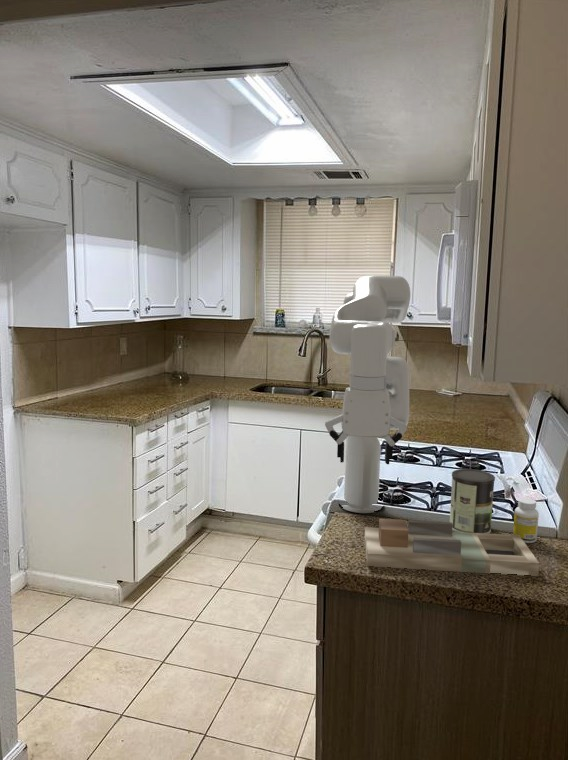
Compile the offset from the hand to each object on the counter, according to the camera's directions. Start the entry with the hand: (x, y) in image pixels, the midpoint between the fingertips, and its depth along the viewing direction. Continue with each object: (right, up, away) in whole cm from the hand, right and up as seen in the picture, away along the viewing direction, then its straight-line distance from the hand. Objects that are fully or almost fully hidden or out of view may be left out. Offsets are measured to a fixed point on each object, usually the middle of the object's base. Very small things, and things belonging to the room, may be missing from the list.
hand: (364, 461), depth 124 cm
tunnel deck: (+19, -23, +7) cm, 31 cm away
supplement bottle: (+41, -22, +17) cm, 50 cm away
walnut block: (+8, -19, +7) cm, 22 cm away
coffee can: (+30, -20, +23) cm, 43 cm away
